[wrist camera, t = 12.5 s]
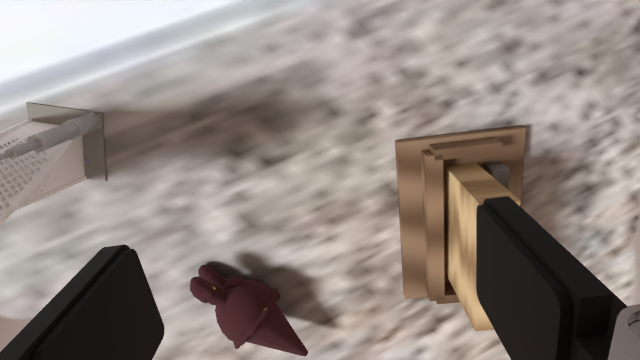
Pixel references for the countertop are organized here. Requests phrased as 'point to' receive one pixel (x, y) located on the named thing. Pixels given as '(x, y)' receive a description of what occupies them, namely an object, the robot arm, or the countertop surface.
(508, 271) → the robot arm
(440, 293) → the cabinet base
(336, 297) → the countertop surface
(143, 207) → the countertop surface
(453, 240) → the door panel
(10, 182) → the cheese grater
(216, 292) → the icecream
